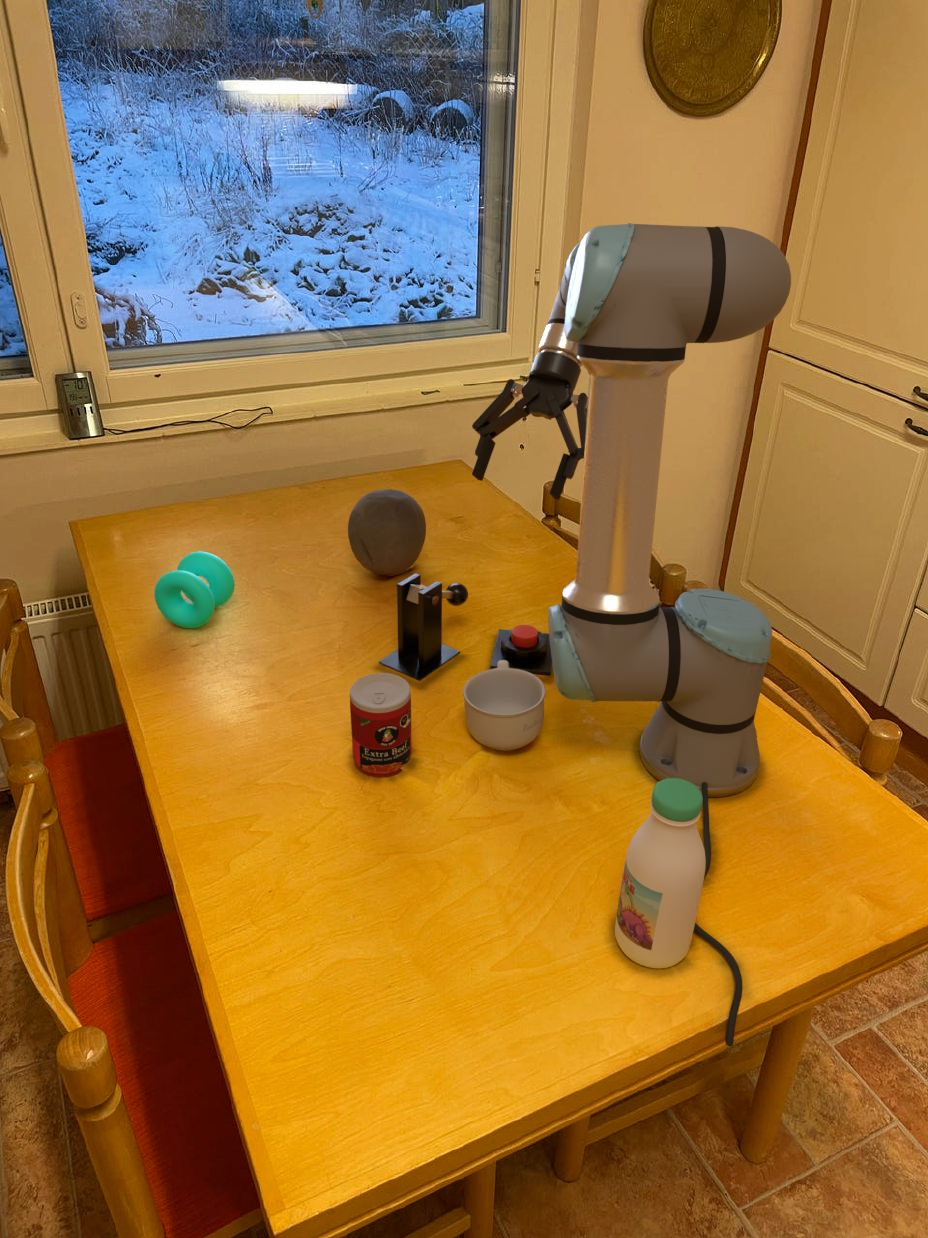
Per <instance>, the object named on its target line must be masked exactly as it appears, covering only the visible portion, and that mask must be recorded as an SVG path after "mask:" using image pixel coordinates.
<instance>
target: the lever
mask: <svg viewBox="0 0 928 1238" xmlns="http://www.w3.org/2000/svg"><path fill="white" fill-rule="evenodd" d="M426 587H428V586H427V585H424V584H422V583H421V584H410V588H409V592H408V595H407V600H408V601H411V602H413V603H416V604H418V592H420V591H421V590H423V589H425V588H426ZM442 599H445V600H446V602H447V603H448V604H450V605H452V606H454V607H460V606H463V605H464V604H465V603H466V602H467V601H468V599H469V590H468V588H467V587H466V586H465V584H463V583H460V582H453V583H451V584H449V585H448V586H447V588H446V589H444V590H443V589H442Z"/></svg>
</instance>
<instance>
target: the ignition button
mask: <svg viewBox="0 0 928 1238" xmlns="http://www.w3.org/2000/svg"><path fill="white" fill-rule="evenodd" d="M511 630H512V636H511V642H512V644H513V645H515V646H518V647H524V648H529V647H534V646H536V644H537V640H538V631H539V630H538V629H537V628H536V627H534V626H532V625H529V624H519V625H516V626H514V627H513V628H512V629H511Z"/></svg>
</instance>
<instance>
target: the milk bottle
mask: <svg viewBox="0 0 928 1238" xmlns="http://www.w3.org/2000/svg"><path fill="white" fill-rule="evenodd" d="M649 806H650V811H651V813H650V814H649V816H648V817H647V819H646V820H645V821H644V822H643V823H642V824H641V825H640V827H639V828H637V830H636V831H635V833H634V834H633V836H632V838H631V840H630V843H629V845H628V848H627V852H626V855H625V861H624V867H623V872H622V879H621V885H620V891H619V896H618V897H619V898H618V905H617V911H616V918H615V925H614V936H615V940H616V942H617V945H618V946H619V948H620V950H621V951H622V952H623V953H624V955H625V956H626V957H627V958H629V959H630V960H631V961H633V962H635V963H636V964H638V965H641V966H643V967H646V968H649V969H650V968H651V969H666V968H671V967H674V966H675V965H677V964H679V963H680V962H681V961H683V960H684V959H685V957H686V956H688V955H687V954H688V953H689V950H690V947H691V944H692V939H693V934H694V926H695V923H696V921H697V916H698V912H699V907H700V901H701V896H702V890H703V885H704V881H705V878H704V875H705V865H706V858H705V845H704V844H703V843H704V842H703V841H702V838H701V835H700V833H699V830H698V825H697V822H698V821H699V819H700V817H701V812H702V809H703V797H702V793H701V791H700V790H699V789H698V787H696V786H695V785H694V784H692V783H691V782H689V781H686V780H683V779H679V778H667V779H663V780H661V781H659V780H658V782H657V783H656V784H655V785H654V787H653V789H652V793H651V800H650V805H649Z"/></svg>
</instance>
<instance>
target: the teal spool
mask: <svg viewBox="0 0 928 1238" xmlns="http://www.w3.org/2000/svg"><path fill="white" fill-rule="evenodd" d="M176 568H177V569H175V570H171V571H168V572H166V573H164V574H163V575H162V576H161V577H159V579H158V580H157V582H156V584H155V587H154V594H153V595H154V600H155V604H156V606H157V608H158V610H159V612H160V613H161V615H163V616H164V618H166V619H167V620H168V621H169V622H171V623H172V624H174V625H176V626H177V627H181V628H185V629H186V628H187V629H197V628H201V627H202V626H203V625H206V624H207V623H208V622H209V621H210V619H212V617H213V615H214V613H215V608H217V607H221V606H224V605H225V604H226V603H228V602H229V601H230V599H231V598H232V597H233V594H234V592H235V586H236V585H235V584H236V583H235V577H234V575H233V572H232V570H231V569H230V567H229V565H228V564H227V563H226V562H225V561H224V560H223V559H222V558H221V557H219V556H218V555H216V554H213V553H211V552H207V551H194V552H190V553H188V554H186V555H185V556H184V557H183V558H182V559H181V560H180V561H179V563H178V565H177V567H176ZM202 578H203V579H202ZM204 579H205V580H204ZM206 582H207V583H208V584H207V583H206ZM183 595H184V596H185V597H186V598H187V599H188V600H190V601H191V602H189V601H187V600H186V599H185V598H184V597H183Z"/></svg>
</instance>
